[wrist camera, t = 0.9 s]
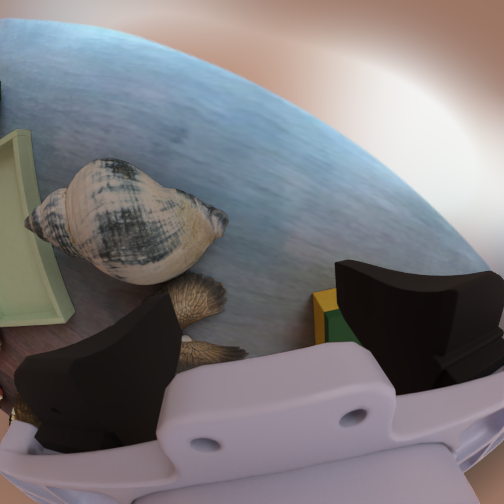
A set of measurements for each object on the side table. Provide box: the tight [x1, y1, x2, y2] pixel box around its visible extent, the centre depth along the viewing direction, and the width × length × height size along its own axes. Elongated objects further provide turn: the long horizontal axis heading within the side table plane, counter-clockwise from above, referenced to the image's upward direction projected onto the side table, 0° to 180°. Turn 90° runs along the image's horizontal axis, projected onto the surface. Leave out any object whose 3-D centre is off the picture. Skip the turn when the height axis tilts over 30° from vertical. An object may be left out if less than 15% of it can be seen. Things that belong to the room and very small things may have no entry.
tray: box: [0, 129, 75, 327], centre depth 17 cm, size 16×11×2 cm
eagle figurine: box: [112, 273, 249, 373], centre depth 19 cm, size 8×7×9 cm
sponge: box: [313, 288, 363, 347], centre depth 21 cm, size 7×4×4 cm, turn 9°
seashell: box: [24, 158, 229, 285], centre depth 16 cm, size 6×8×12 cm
